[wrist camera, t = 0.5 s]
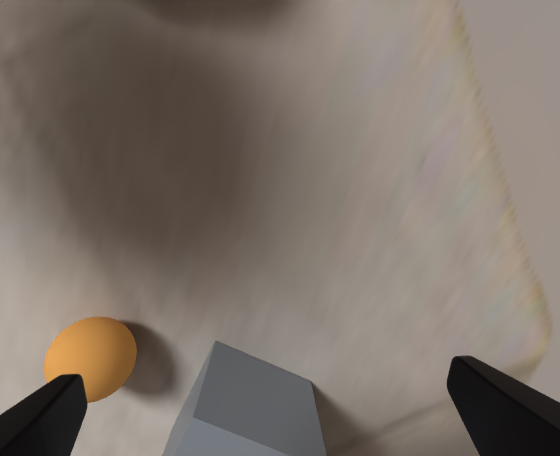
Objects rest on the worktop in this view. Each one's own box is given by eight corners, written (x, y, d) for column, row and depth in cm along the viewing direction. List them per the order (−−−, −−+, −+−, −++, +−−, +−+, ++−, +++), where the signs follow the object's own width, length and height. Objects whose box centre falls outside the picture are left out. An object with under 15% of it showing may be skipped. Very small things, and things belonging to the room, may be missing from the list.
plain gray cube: (265, 463, 25) (265, 581, 18) (172, 427, 24) (132, 536, 17) (310, 381, 24) (330, 471, 17) (215, 340, 23) (192, 417, 16)
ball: (132, 380, 23) (95, 436, 18) (65, 353, 23) (9, 404, 18) (159, 321, 23) (129, 363, 18) (91, 293, 22) (40, 327, 17)
